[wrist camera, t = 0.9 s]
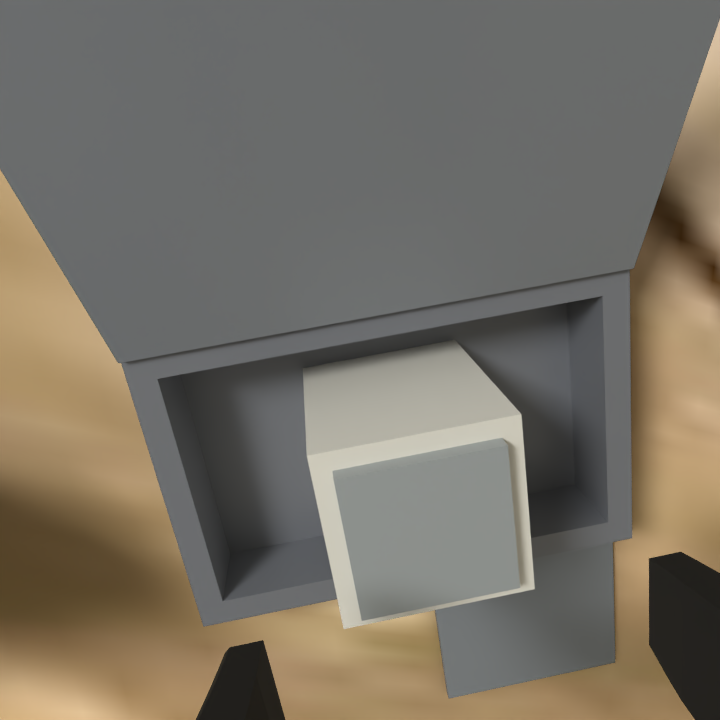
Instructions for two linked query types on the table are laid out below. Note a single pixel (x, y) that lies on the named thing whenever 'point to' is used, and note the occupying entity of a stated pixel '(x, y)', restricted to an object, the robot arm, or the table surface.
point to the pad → (533, 626)
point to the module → (417, 482)
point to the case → (349, 231)
